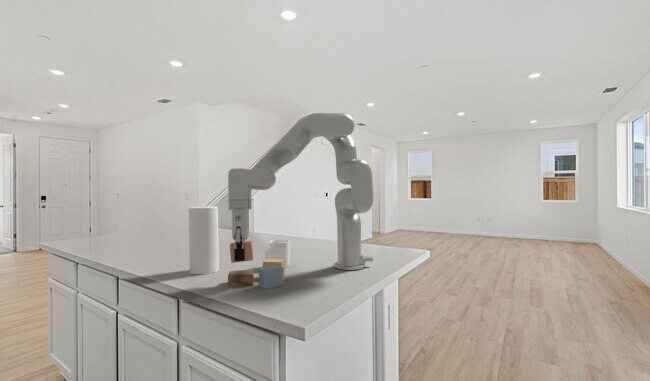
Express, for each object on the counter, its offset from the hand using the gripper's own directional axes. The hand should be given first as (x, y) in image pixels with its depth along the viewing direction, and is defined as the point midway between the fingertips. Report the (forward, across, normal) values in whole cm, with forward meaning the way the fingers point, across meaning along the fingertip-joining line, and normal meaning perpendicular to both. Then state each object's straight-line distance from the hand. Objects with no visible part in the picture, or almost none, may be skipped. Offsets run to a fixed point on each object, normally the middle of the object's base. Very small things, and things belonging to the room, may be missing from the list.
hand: (240, 258), depth 110 cm
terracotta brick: (+1, 0, -1) cm, 1 cm away
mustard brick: (+8, +6, -11) cm, 15 cm away
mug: (+9, +20, -12) cm, 25 cm away
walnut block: (+9, 0, 0) cm, 9 cm away
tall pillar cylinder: (+9, +20, +16) cm, 27 cm away
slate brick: (+8, -4, -10) cm, 14 cm away
